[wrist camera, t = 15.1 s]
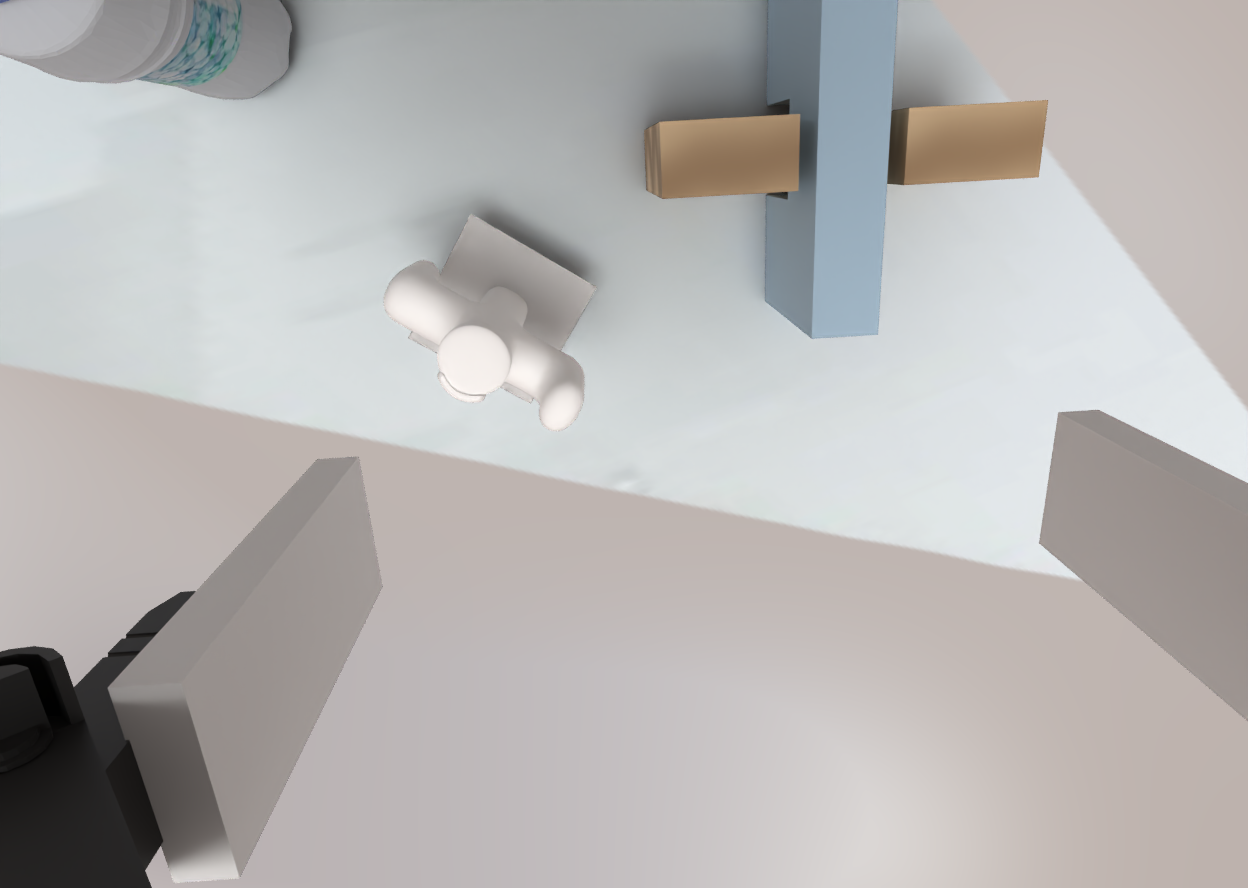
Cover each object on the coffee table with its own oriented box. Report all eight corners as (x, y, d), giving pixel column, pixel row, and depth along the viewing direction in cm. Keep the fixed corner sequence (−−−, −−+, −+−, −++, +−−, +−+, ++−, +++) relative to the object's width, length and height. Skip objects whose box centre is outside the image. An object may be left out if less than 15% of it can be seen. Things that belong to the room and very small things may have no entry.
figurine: (462, 198, 42) (396, 217, 28) (613, 287, 44) (624, 347, 30) (404, 314, 44) (316, 387, 30) (552, 394, 46) (534, 498, 32)
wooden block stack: (644, 130, 41) (659, 121, 32) (944, 113, 41) (1048, 100, 32) (646, 190, 42) (662, 198, 33) (939, 173, 42) (1038, 177, 33)
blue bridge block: (768, -20, 39) (824, -77, 29) (827, -23, 39) (902, -81, 29) (765, 301, 44) (811, 338, 35) (817, 297, 44) (877, 334, 35)
